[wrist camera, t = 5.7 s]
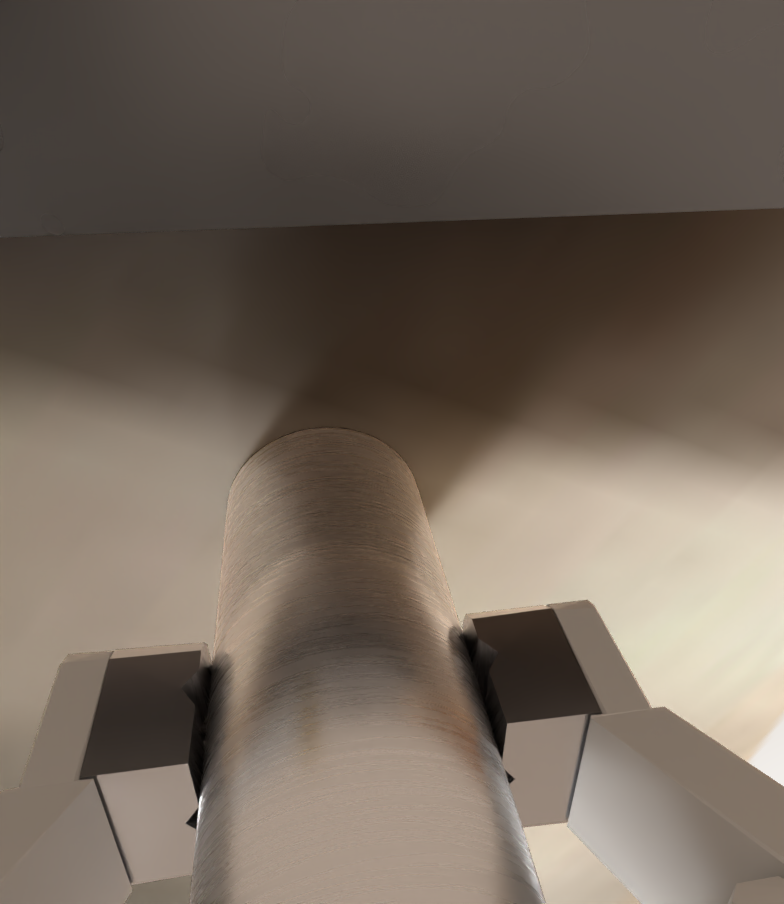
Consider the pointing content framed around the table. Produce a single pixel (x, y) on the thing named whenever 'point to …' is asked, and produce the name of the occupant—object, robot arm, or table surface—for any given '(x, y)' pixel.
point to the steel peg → (346, 699)
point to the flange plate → (383, 111)
